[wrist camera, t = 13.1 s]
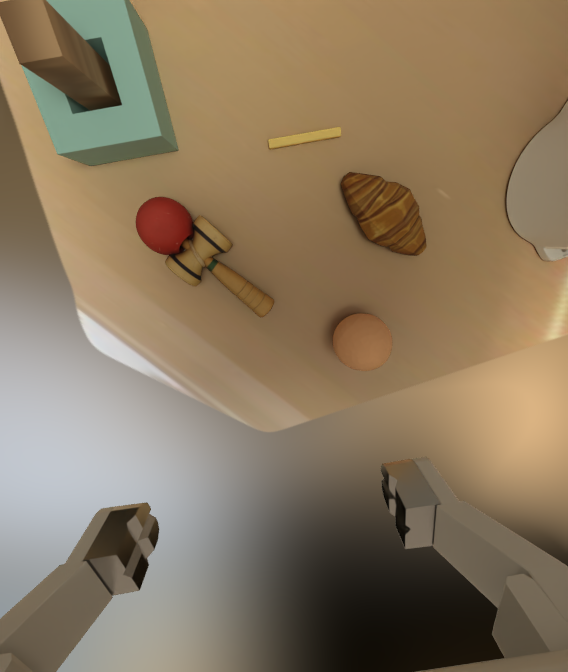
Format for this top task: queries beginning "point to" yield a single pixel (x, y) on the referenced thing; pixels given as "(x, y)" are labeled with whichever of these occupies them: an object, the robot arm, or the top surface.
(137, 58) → the teal planter box
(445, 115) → the top surface
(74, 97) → the brown wooden square peg
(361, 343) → the egg
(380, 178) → the croissant
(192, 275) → the kendama
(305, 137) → the yellow thin square stick
